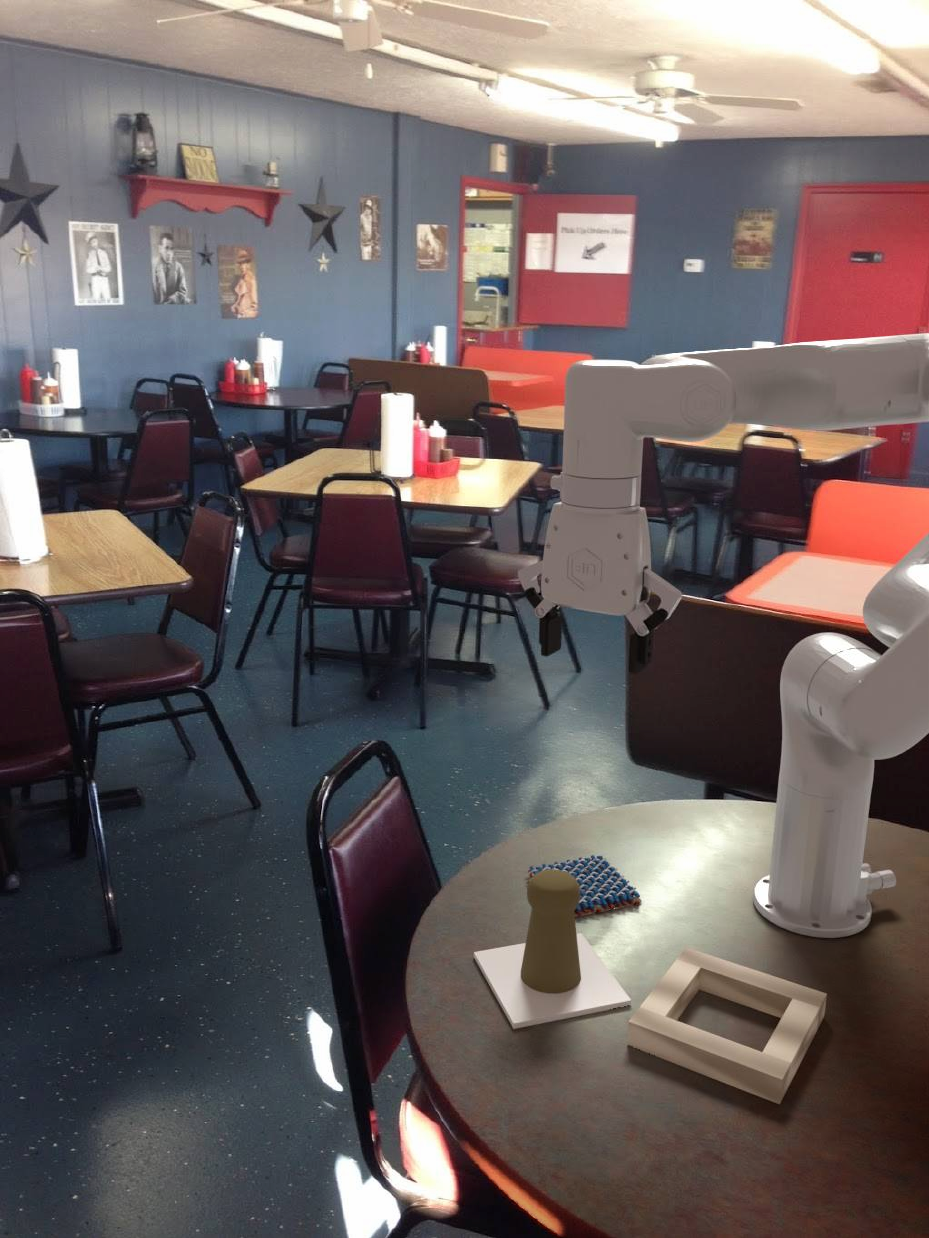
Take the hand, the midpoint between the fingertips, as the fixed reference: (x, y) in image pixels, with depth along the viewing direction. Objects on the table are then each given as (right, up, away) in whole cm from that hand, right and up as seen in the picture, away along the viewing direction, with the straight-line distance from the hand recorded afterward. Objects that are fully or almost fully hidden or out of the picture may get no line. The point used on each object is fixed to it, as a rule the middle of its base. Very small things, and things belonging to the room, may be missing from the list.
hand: (593, 661), depth 109 cm
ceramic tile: (-4, -32, -1) cm, 32 cm away
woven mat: (+1, -28, +16) cm, 32 cm away
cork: (-4, -31, -1) cm, 32 cm away
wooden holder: (+12, -34, -8) cm, 37 cm away
